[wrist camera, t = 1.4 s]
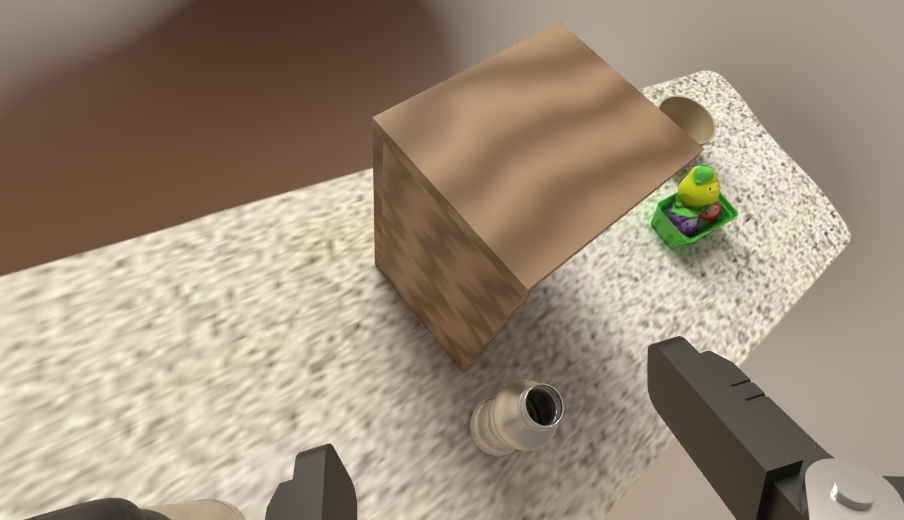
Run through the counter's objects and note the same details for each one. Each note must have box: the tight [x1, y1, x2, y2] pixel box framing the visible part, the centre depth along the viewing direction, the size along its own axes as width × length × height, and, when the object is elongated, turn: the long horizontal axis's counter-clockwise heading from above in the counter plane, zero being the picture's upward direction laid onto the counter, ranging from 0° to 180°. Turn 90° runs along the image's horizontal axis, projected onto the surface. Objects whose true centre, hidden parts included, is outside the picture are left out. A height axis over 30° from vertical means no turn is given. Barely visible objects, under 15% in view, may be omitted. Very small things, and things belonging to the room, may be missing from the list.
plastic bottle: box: [470, 379, 564, 456], centre depth 48 cm, size 6×7×20 cm
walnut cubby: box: [373, 22, 704, 372], centre depth 53 cm, size 19×23×29 cm
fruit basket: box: [651, 163, 738, 248], centre depth 70 cm, size 11×9×11 cm
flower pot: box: [657, 96, 716, 146], centre depth 78 cm, size 10×10×7 cm
